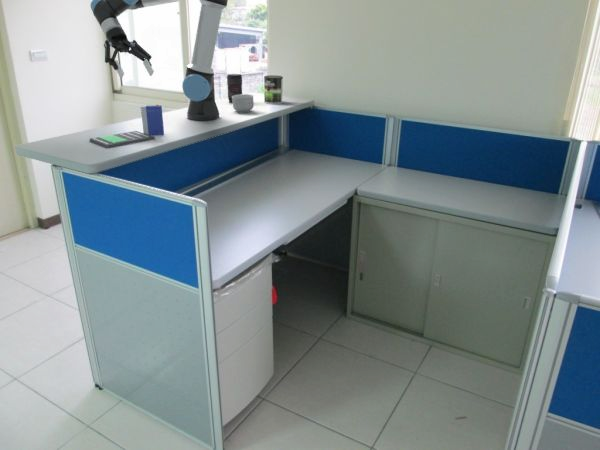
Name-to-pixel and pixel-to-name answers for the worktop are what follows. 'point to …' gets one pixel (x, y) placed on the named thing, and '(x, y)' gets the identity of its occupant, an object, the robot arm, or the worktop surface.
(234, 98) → the teacup
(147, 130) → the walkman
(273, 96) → the coffee can
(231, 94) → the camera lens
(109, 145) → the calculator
